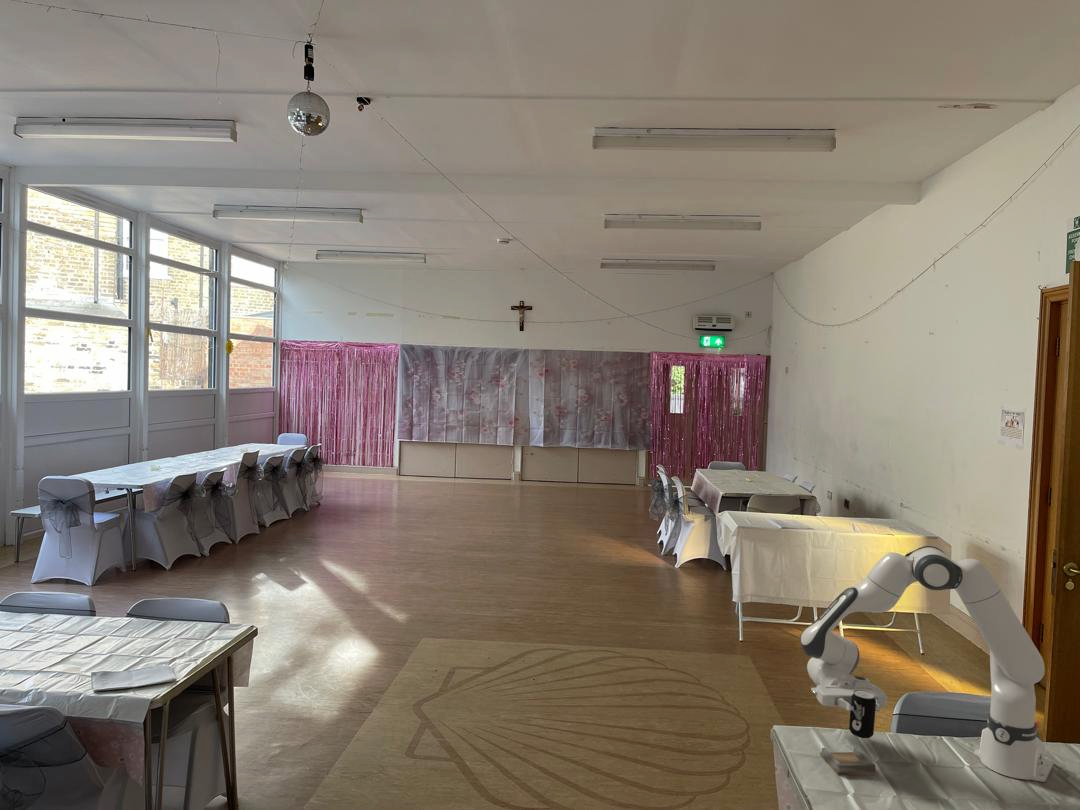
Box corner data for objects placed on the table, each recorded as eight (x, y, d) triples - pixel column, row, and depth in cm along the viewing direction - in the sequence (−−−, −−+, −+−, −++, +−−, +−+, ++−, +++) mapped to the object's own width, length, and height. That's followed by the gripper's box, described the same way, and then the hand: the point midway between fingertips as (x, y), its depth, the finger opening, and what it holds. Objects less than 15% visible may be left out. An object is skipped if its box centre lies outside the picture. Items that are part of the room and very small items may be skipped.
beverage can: (875, 740, 208) (879, 700, 208) (851, 737, 209) (854, 696, 209) (870, 729, 215) (873, 690, 214) (846, 726, 216) (849, 687, 215)
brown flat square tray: (819, 755, 218) (820, 746, 218) (854, 754, 219) (855, 745, 219) (838, 775, 207) (838, 765, 207) (875, 774, 208) (875, 765, 208)
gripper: (809, 677, 223) (831, 697, 210) (872, 678, 225) (898, 698, 212) (807, 697, 224) (829, 719, 210) (870, 698, 226) (896, 719, 212)
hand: (864, 708), depth 211 cm, fingers closed on beverage can, 7 cm apart
